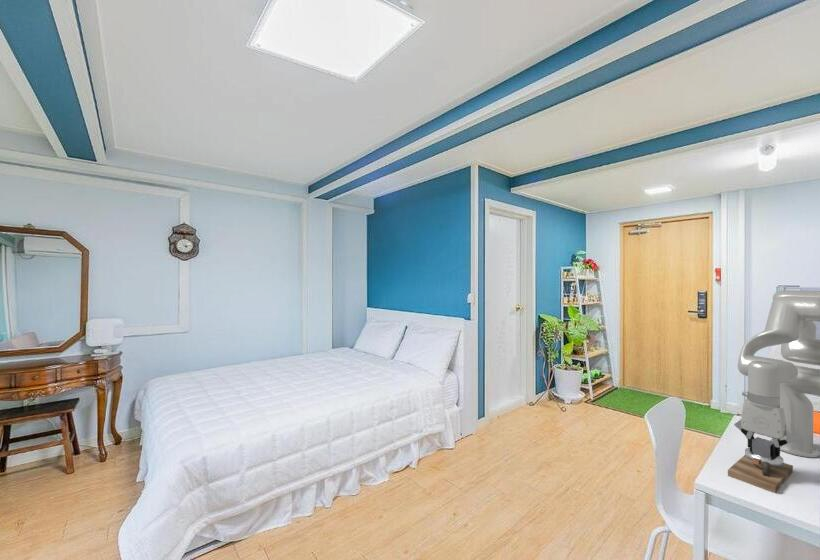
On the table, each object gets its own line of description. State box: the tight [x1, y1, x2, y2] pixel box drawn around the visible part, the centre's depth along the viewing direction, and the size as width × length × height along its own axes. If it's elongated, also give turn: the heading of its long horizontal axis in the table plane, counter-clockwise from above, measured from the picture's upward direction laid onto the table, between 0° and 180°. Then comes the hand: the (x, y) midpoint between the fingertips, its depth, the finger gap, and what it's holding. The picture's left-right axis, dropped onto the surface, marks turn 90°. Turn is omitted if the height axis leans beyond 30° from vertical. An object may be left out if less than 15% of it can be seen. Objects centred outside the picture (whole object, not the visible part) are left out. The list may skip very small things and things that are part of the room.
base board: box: [727, 454, 794, 494], centre depth 115 cm, size 21×11×6 cm, turn 122°
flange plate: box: [744, 436, 785, 467], centre depth 115 cm, size 11×9×6 cm
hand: (763, 453), depth 115 cm, fingers closed on flange plate, 4 cm apart
